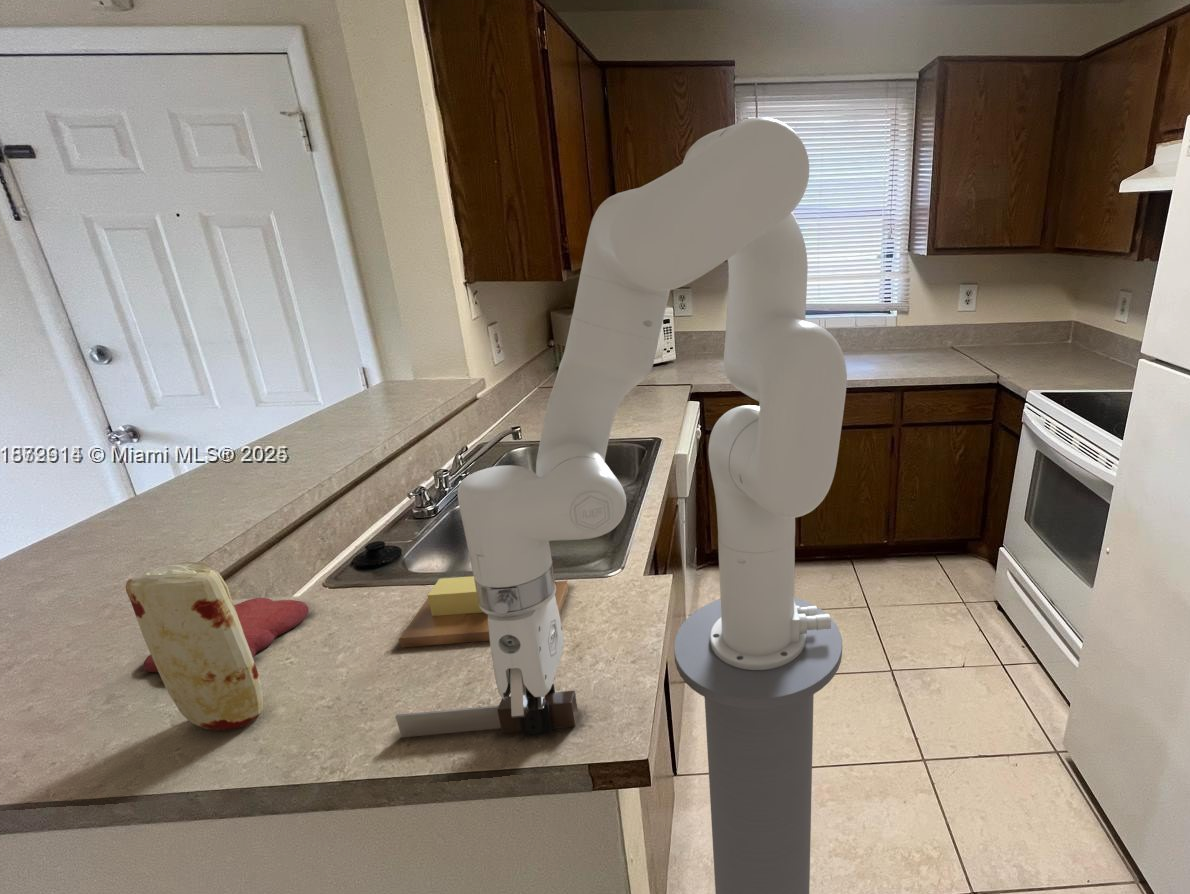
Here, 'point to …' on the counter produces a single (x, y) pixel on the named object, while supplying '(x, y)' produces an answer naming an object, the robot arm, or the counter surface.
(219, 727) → the food model
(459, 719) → the knife
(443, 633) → the cutting board
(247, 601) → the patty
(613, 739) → the counter surface
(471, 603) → the butter
